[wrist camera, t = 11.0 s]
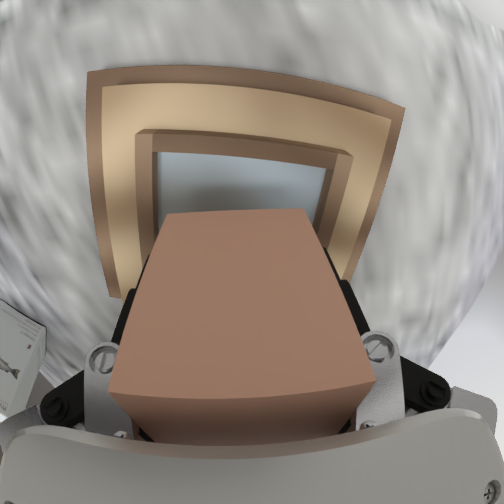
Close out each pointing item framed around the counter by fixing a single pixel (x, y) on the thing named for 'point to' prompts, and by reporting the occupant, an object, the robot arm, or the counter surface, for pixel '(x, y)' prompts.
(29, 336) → the supplement box
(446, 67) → the counter surface
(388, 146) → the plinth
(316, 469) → the robot arm
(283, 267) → the pillar block
